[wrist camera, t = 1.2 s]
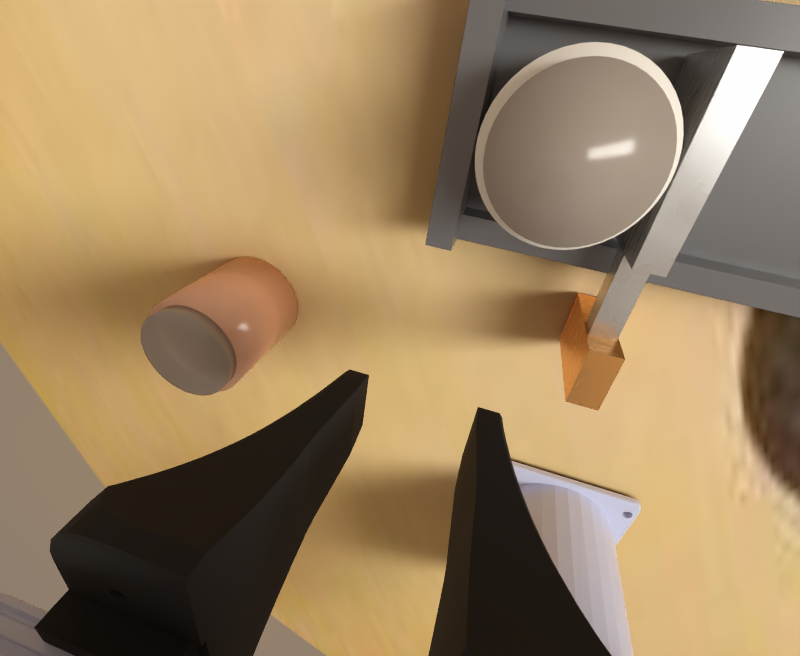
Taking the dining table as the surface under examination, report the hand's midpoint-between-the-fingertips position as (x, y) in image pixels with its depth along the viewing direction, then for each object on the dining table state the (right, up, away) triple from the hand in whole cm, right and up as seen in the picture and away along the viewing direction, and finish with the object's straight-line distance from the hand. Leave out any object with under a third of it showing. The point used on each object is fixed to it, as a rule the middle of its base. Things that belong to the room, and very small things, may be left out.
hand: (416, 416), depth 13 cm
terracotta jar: (-9, +4, +12) cm, 15 cm away
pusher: (+8, +7, +4) cm, 12 cm away
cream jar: (+5, +10, +3) cm, 11 cm away
